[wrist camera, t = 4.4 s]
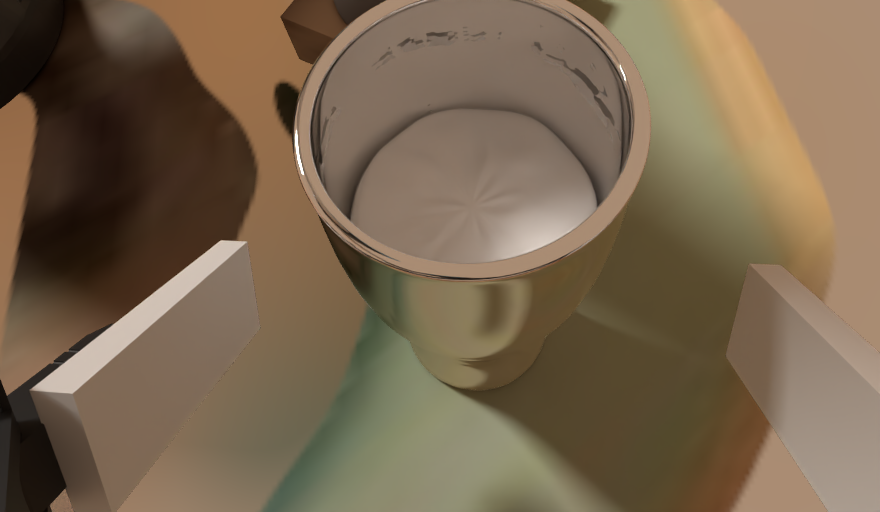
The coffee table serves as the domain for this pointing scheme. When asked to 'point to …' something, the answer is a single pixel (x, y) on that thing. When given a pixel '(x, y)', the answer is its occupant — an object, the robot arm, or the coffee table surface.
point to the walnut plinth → (320, 23)
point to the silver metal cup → (472, 170)
